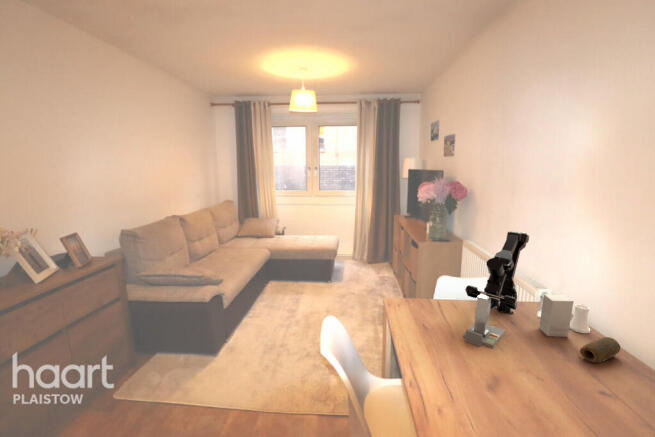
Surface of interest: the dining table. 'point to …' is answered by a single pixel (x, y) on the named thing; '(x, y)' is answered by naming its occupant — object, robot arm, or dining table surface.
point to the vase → (580, 319)
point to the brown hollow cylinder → (600, 349)
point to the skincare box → (556, 315)
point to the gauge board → (479, 339)
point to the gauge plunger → (482, 315)
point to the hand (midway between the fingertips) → (484, 315)
